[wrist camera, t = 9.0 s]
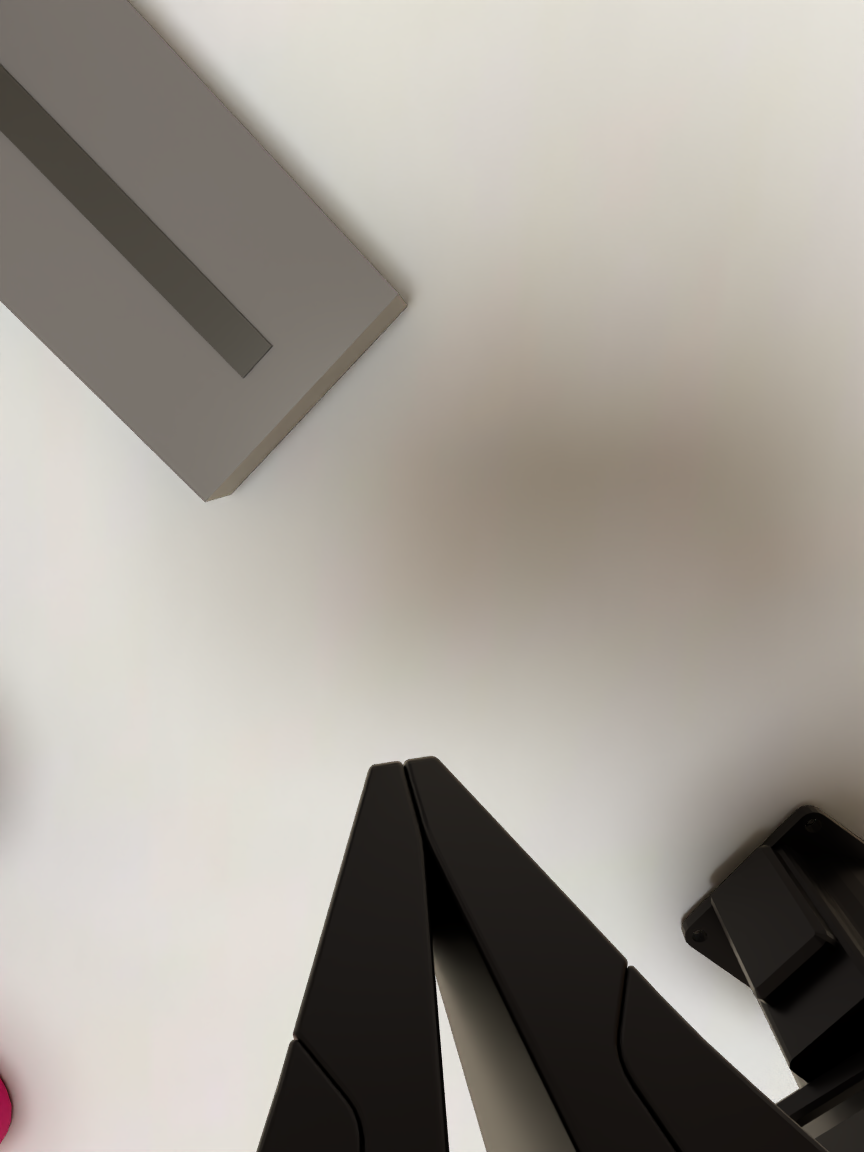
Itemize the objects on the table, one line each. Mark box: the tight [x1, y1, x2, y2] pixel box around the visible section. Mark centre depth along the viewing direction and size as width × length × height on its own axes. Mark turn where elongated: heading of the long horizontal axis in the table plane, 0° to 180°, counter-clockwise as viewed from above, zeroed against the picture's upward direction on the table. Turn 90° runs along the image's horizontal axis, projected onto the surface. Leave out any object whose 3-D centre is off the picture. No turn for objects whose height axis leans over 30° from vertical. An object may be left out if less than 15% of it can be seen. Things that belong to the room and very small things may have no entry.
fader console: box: [0, 0, 407, 502], centre depth 18 cm, size 18×8×2 cm, turn 44°
